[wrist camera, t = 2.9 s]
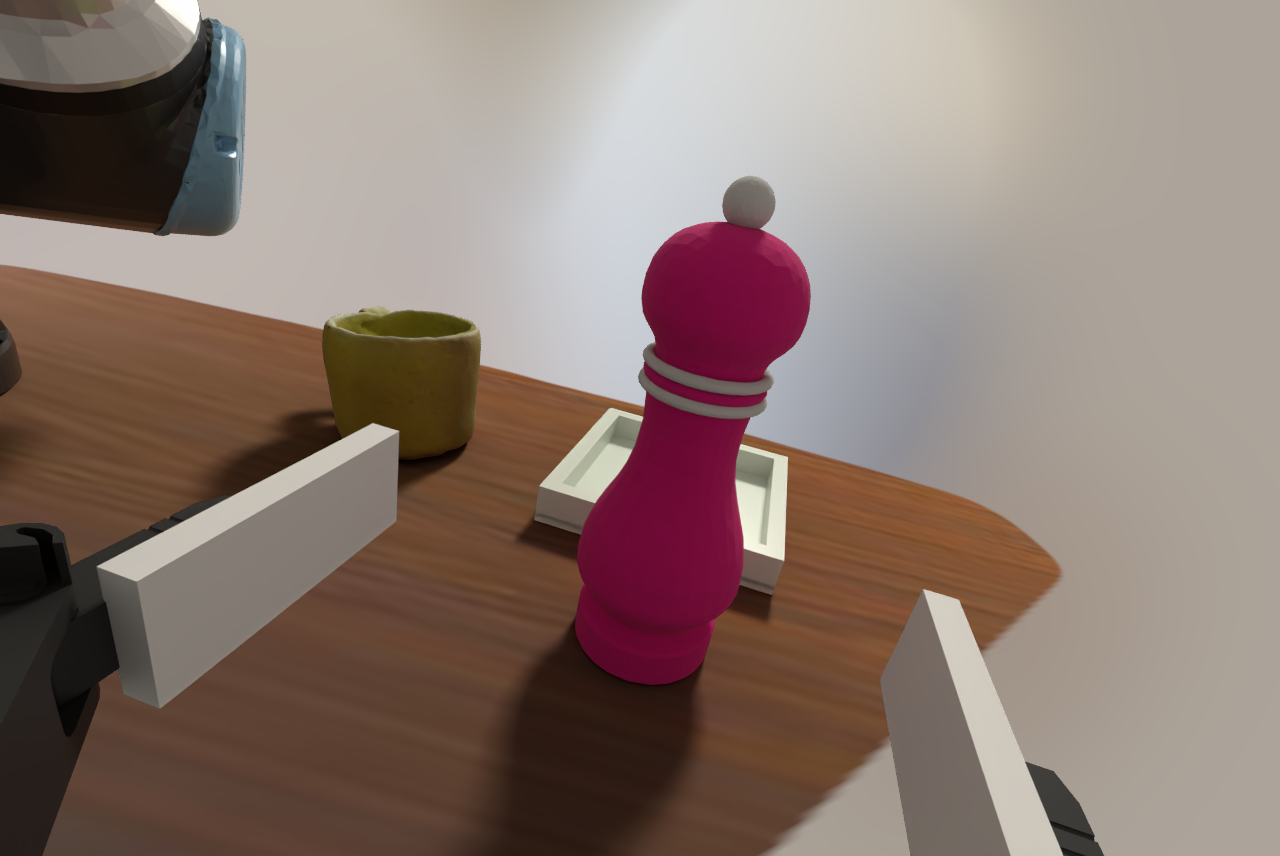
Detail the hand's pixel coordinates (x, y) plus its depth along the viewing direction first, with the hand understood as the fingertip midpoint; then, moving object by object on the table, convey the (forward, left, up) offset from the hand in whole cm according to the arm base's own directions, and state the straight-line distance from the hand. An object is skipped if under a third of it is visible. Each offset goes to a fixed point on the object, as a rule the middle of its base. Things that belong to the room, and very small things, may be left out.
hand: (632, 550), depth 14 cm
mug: (-21, +22, -11) cm, 32 cm away
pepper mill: (0, +10, -11) cm, 15 cm away
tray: (-1, +23, -11) cm, 25 cm away
